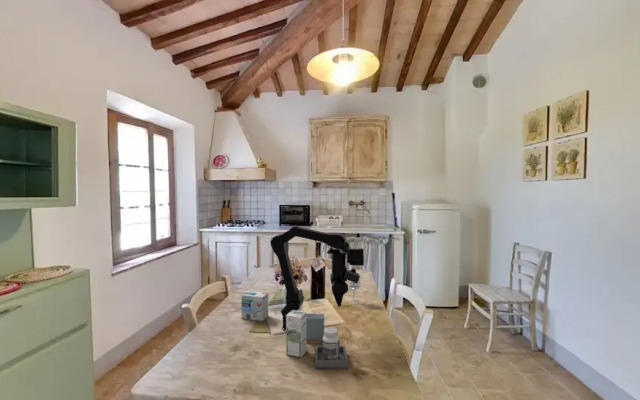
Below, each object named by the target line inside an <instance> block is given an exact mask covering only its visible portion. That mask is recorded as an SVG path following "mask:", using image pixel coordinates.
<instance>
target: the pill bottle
mask: <svg viewBox="0 0 640 400" xmlns="http://www.w3.org/2000/svg"><path fill="white" fill-rule="evenodd" d="M324 334H325V335H324V336H323V343H322V346H323V359H324V360H338V359H339V346H340V336H339V335H338V329H337V328H336V327H332V326H329V327H324Z"/></svg>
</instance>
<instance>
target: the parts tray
mask: <svg viewBox="0 0 640 400" xmlns="http://www.w3.org/2000/svg"><path fill="white" fill-rule="evenodd" d="M314 347H315V349H314V350H315V353H314V354H315V355H314V357H315V358H314V369H315V370H343V369H344V370H348V367H349V366H348V365H349V361H348V355H347V348H346V345H339V359H338V360H324V359H323V345H315V346H314Z"/></svg>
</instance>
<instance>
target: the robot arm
mask: <svg viewBox="0 0 640 400" xmlns="http://www.w3.org/2000/svg"><path fill="white" fill-rule="evenodd" d="M295 237H298V238H302V239H307V240H311V241H316V242H320V243H323V244H325V245H326V246H329V250H327V251H326V254H330V255H331V273H330V279H329V280H330V284H331V293H332V295H333V297H334V300H335V303H336V305H337V307H338V308H340V307H342V303H343V298H344V295H346V294H347V293H348V292H349V287H348V280H349V281H352V282H354V283H356V284H357V283H358V281H359V279H360V277H361V275H360V274H359V273H358V272H357V269H355V268H354V267H353V268H350V269H347V263H348V264H349V266H358V267H361V266H363V267H364V266H365V251H364V250H365V249H364V248H362V247H361V248H352V247H351V245H350V244H349V243H348V241H347V237H346V235H345V234H344V233H342V232H324V231H319V230H315V229H310V228H306V227H302V226H299V225H294V226H292V227H291V228H290V229H288V230H287V231H285V232H283V233H280V234H278V235H275V236H273V237H272V238H271V240H270V246H271V248H272V251H273V253H274V255H276V258H277V259H278V263H279V267H280V271H281V274H282V278H283V284H284V286H285V305H284V307H283V308H282V309H281V310H280V312H281V316H282V327H281V330H282V329H283V328H284V329H286V315H287V314H288V313H289V312H290V311H292V310H296V311H300V308H301V307H302V306H303V304H304V299H305V296H304V293H303V289H299V288H298V286H297V284H296V280H295V275H294V272H293V268H292V263H291V260H290V256H289V249H290V248H289V247H290V246H289V242H290V241H291V240H293V239H294V238H295Z"/></svg>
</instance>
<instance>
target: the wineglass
mask: <svg viewBox="0 0 640 400" xmlns="http://www.w3.org/2000/svg"><path fill="white" fill-rule="evenodd" d="M347 284H348V289H351V290H352V292H353V293H352V295H353V299H352V300H350V301H348V303H349V304H351V305H358V304H359V303H358V302H359V301H357V300H355V295H356V292H355V291H356V290H357V289H358V290H359V288H360V287H361V284H362V283H361V279H360V278H359V281H358V283H357V284H356V283H354V282H352V281H349V280H347Z"/></svg>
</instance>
